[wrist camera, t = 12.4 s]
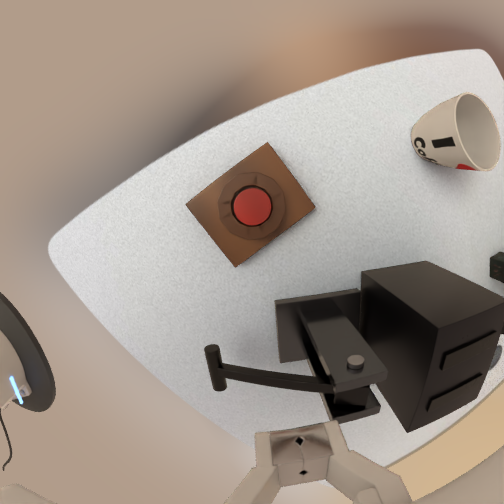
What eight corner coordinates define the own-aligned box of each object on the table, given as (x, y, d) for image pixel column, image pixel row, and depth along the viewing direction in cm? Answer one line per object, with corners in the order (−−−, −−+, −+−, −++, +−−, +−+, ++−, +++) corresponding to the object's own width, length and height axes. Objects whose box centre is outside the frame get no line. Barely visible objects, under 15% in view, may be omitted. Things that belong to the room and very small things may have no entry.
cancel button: (248, 230, 26) (248, 232, 24) (227, 202, 25) (226, 203, 23) (276, 209, 25) (278, 210, 24) (255, 181, 25) (256, 180, 23)
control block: (235, 263, 30) (235, 272, 26) (188, 203, 28) (181, 205, 24) (311, 206, 29) (320, 208, 25) (265, 145, 27) (269, 138, 24)
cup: (391, 144, 27) (445, 131, 18) (413, 98, 26) (463, 77, 16) (435, 184, 28) (490, 187, 19) (453, 138, 27) (505, 131, 17)
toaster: (356, 356, 33) (408, 435, 18) (361, 271, 30) (440, 330, 16) (416, 339, 33) (478, 399, 18) (426, 260, 31) (511, 301, 16)
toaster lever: (219, 379, 27) (208, 392, 25) (211, 340, 26) (198, 353, 24) (366, 398, 21) (363, 416, 19) (372, 356, 20) (371, 374, 18)
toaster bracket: (278, 358, 32) (298, 442, 19) (274, 299, 31) (297, 375, 17) (354, 344, 33) (402, 414, 19) (357, 287, 31) (421, 345, 17)
